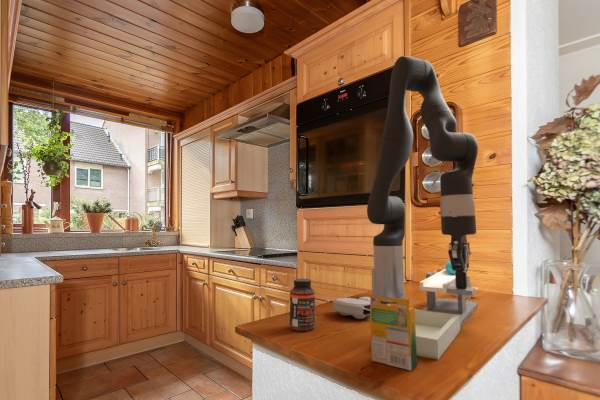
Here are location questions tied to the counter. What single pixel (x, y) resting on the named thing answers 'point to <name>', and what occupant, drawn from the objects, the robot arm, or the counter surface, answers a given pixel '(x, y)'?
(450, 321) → the tray
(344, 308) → the robot toy
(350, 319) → the counter surface
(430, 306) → the stand
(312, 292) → the supplement bottle
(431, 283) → the trough
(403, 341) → the crayon box
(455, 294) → the architectural model
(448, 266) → the ball
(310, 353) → the counter surface
